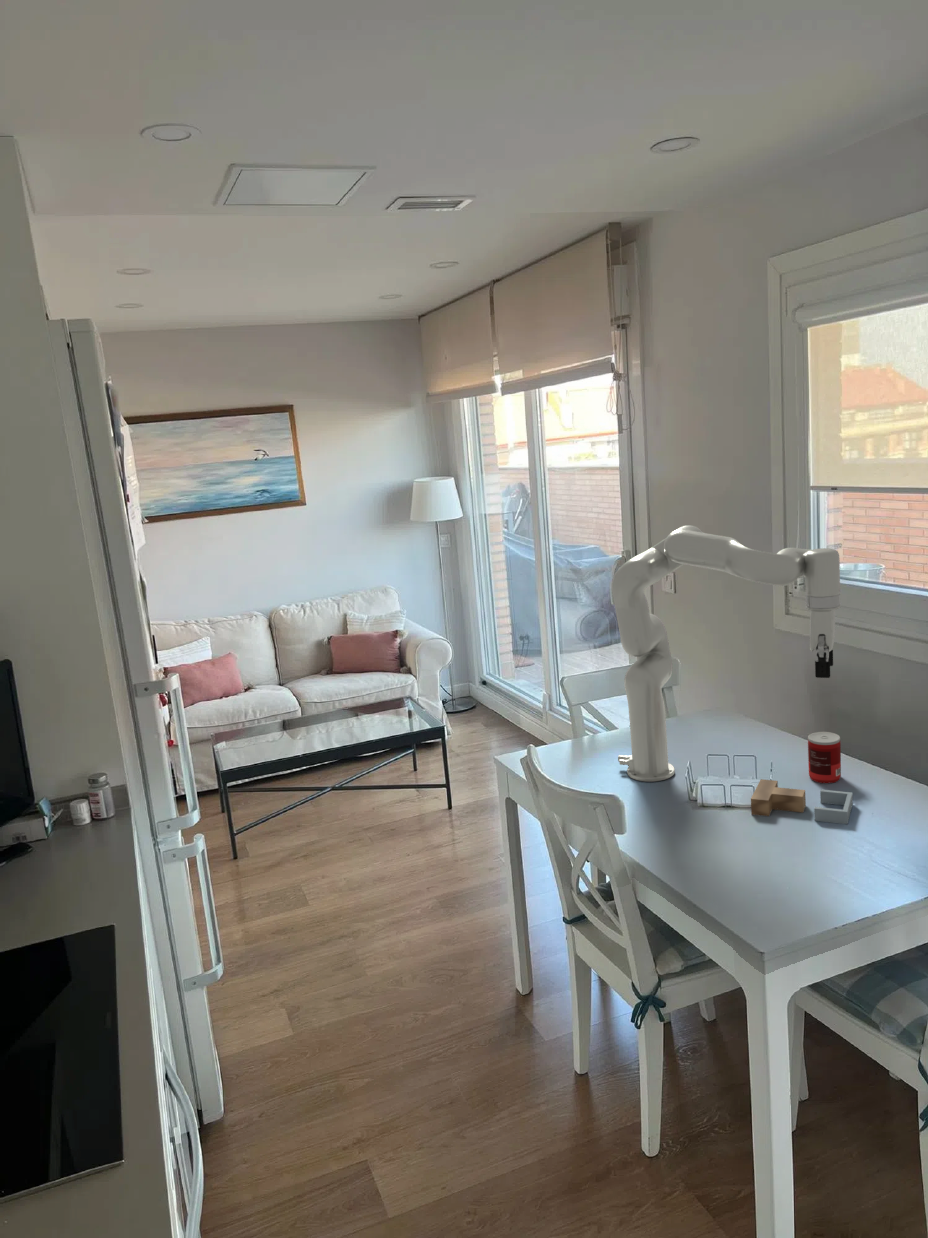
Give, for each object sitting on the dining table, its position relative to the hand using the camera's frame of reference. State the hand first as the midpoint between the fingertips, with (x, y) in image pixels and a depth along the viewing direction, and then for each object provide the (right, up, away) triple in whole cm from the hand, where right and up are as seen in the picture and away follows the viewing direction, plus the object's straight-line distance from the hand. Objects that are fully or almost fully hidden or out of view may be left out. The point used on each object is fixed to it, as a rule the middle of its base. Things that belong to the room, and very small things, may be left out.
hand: (824, 671), depth 214 cm
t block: (-10, -33, +1) cm, 34 cm away
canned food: (+6, -28, +14) cm, 32 cm away
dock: (0, -33, -5) cm, 33 cm away
